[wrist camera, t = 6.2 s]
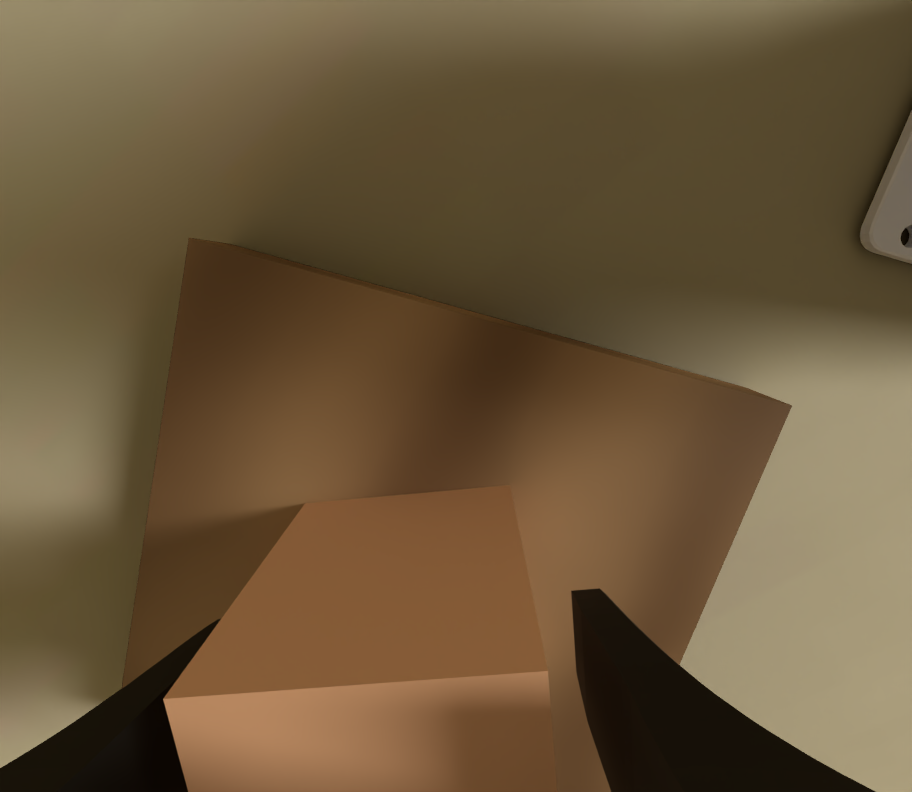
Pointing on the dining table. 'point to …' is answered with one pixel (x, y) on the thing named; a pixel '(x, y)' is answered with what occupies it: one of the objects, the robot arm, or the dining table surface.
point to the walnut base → (437, 455)
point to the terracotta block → (376, 658)
